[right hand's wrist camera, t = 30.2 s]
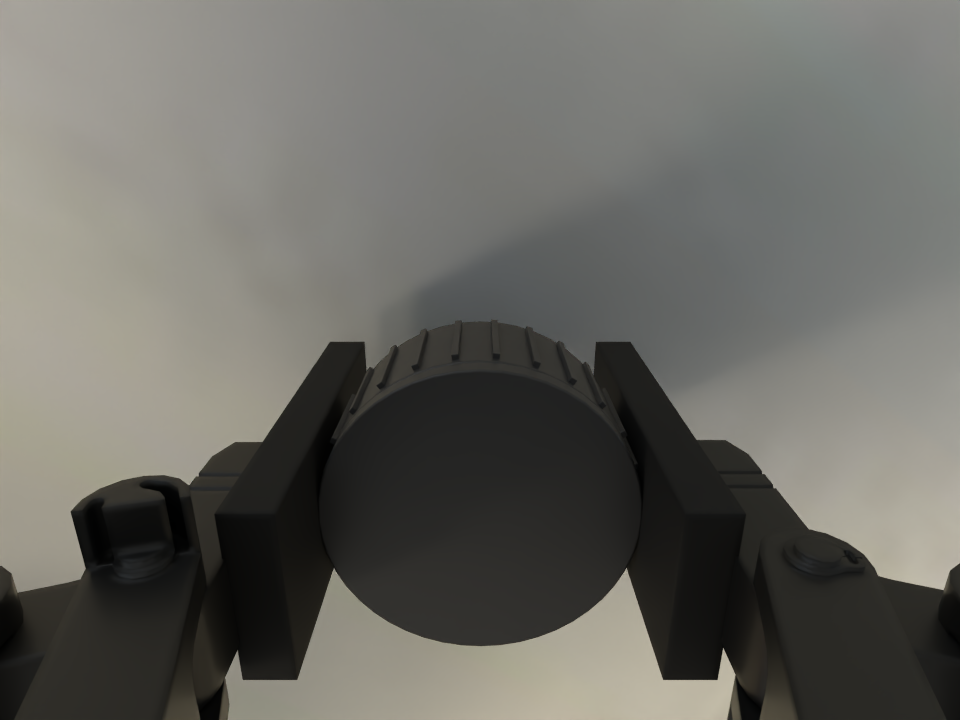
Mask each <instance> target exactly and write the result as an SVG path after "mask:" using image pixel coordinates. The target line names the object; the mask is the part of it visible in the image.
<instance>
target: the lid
mask: <svg viewBox="0 0 960 720" xmlns="http://www.w3.org/2000/svg"><path fill="white" fill-rule="evenodd" d="M626 436H627V433H626V431H625V429H624V427H623V425H622V423H621V420H620V418H619V416H618V414H617V412H616V410H615V408H614V405H613V403H612V401H611V399H610V397H609V395H608V392H607V391H606V389H605V388H603V389H601V388H600V387H599V385H598V384H597V382H596V380H595V378H594V376H593V373H592V371H591V369H590V367H589V365H588V364H587V363H586V362H585V363H583V364H582V363H581V362H580V361H579V360H578V359H577V358H576V357H575V356H573V355H572V354H571V353H570V352H569V351H568V350H566V349H565V346H564V344H563V343H562V342H560V341H558V343H556V342H554V341H552V340H551V339H549V338H547V337H545V336H542V335H540V334H538V333H536V332H534V331H533V329H532V328H531V327H528V326H527V327H526V329H524V328H521V327H518V326H514V325H508V324H503V323H498V321H497V320H491V322H466V323H462V322H461V320H459V321H455V324H452V325H447V326H442V327H439V328H436V329H433V330H430V331H427V329H424V330H422V331H421V333H420V335H418V336H416V337H414V338H412V339H410V340H408V341H406V342H405V343H403V344H402V345H400V346H399V347H397V346H396V345H394V346H393V347H391V349H390V352H389V354H388V355H387V356H386V357H385V358H384V359H382V360H381V361H380V362H379V363H378V365H377V366H376V367H375V368H374V369H372V368H371V367H370V368H369V369H368V370H367V372H366V374H365V376H364V378H363V381H362V383H361V385H360V387H359V390H358V392H357V394H356V395H355V394H352V395H351V398H350V400H349V402H348V404H347V406H346V408H345V410H344V413H343V415H342V417H341V419H340V421H339V423H338V425H337V428H336V430H335V432H334V434H333V436H332V438H331V440H330V443H332V444H334V447H333V449H332V451H331V454H330V456H329V458H328V460H327V463H326V465H325V467H324V470H323V475H322V478H321V482H320V488H319V496H318V513H319V523H320V531H321V536H322V540H323V543H324V546H325V549H326V552H327V554H328V557H329V559H330V561H331V563H332V564H333V566H334V568H335V570H336V572H337V573H338V575H339V576H340V578H341V579H342V581H343V582H344V583H345V585H346V586H347V587H348V588H349V589H350V591H351V592H352V593H353V594H354V595H355V596H356V597H357V598H358V599H359V600H360V601H361V602H362V603H363V604H365V605H366V606H367V607H368V608H369V609H371V610H372V611H373V612H374V613H376V614H377V615H379V616H380V617H382V618H383V619H385V620H386V621H388V622H390V623H392V624H394V625H396V626H398V627H400V628H402V629H404V630H406V631H408V632H411V633H413V634H416V635H419V636H421V637H424V638H428V639H432V640H436V641H440V642H444V643H451V644H457V645H470V646H491V645H503V644H510V643H516V642H521V641H525V640H529V639H532V638H536V637H539V636H542V635H545V634H547V633H550V632H552V631H555V630H557V629H559V628H561V627H563V626H565V625H567V624H569V623H571V622H573V621H574V620H576V619H577V618H579V617H580V616H582V615H583V614H585V613H586V612H588V611H589V610H590V609H591V608H592V607H594V606H595V605H596V604H597V603H598V602H599V601H601V600H602V599H603V598H604V597H605V595H606V594H607V593H608V592H609V591H610V590H611V589H612V588H613V587H614V586H615V584H616V583H617V581H618V580H619V578H620V577H621V576H622V574H623V573H624V571H625V569H626V567H627V565H628V563H629V562H630V560H631V558H632V556H633V553H634V550H635V547H636V544H637V541H638V538H639V534H640V527H641V518H642V504H643V500H642V492H641V485H640V480H639V477H638V473H637V470H636V469H638V463H637V461H636V458H635V456H634V454H633V452H632V450H631V448H630V445H629V443H628V441H627V439H626Z"/></svg>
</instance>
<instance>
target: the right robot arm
mask: <svg viewBox="0 0 960 720" xmlns="http://www.w3.org/2000/svg"><path fill="white" fill-rule="evenodd" d="M365 374H366V358H365V344H364V342H330V343H329V344H328V346H327V347H326V349H325V350H324V352H323V353H322V355H321V356H320V358H319V359H318V361H317V362H316V364H315V365H314V367H313V368H312V370H311V371H310V373H309V374H308V376H307V377H306V379H305V380H304V382H303V383H302V384H301V386H300V387H299V389H298V390H297V392H296V393H295V395H294V396H293V398H292V399H291V401H290V402H289V404H288V405H287V407H286V408H285V410H284V411H283V413H282V414H281V416H280V417H279V419H278V420H277V422H276V423H275V425H274V426H273V427H272V429H271V430H270V432H269V433H268V435H267V436H266V438H265V439H264V441H263V442H235V443H233V444H232V445H230V446H228V447H227V448H225V449H224V450H222V451H220V452H219V453H217V454H216V455H214V456H212V457H211V459H210V460H209V461H208V463H207V464H206V465H205V466H204V468H203V469H202V470H201V471H200V473H199V477H196V478H195V479H194V480H193V481H192V483H191V484H190V485H187V484H186V483H185V482H183V481H182V480H181V479H179V478H174V477H169V476H165V475H161V476H142V477H137V478H132V479H127V480H122V481H119V482H117V483H114V484H111V485H109V486H106V487H103V488H101V489H99V490H97V491H95V492H94V493H92V494H90V495H89V496H87V497H85V498H84V499H82V500H81V501H80V502H79V503H78V504H77V505H76V506H75V508H74V509H73V510H72V511H71V515H72V519H73V522H74V526H75V530H76V534H77V537H78V541H79V545H80V549H81V552H82V556H83V560H84V563H85V567H86V569H85V572H84V574H83V576H82V578H81V579H80V580H77V581H73V582H69V583H64V584H59V585H54V586H50V587H45V588H40V589H35V590H30V591H25V592H20V593H17V590H16V587H15V583H14V580H13V577H12V574H11V573H10V572H9V571H7V570H6V569H5V568H3V567H2V566H0V720H227V719H228V711H229V699H228V692H227V686H226V681H225V676H226V674H227V672H228V670H229V667H230V665H231V663H232V661H233V659H234V656H235V654H236V652H237V650H238V654H239V660H240V666H241V672H242V677H243V680H297V679H298V676H299V673H300V670H301V666H302V663H303V660H304V657H305V654H306V651H307V648H308V645H309V642H310V639H311V636H312V633H313V630H314V627H315V624H316V621H317V617H318V614H319V611H320V608H321V605H322V602H323V599H324V596H325V593H326V590H327V587H328V584H329V581H330V578H331V575H332V571H333V568H334V566H333V564H332V563H331V561H330V559H329V557H328V554H327V552H326V549H325V546H324V543H323V540H322V536H321V531H320V523H319V513H318V496H319V488H320V482H321V478H322V475H323V470H324V467H325V465H326V463H327V460H328V458H329V456H330V454H331V451H332V449H333V447H334V444H332V443H330V440H331V438H332V436H333V434H334V432H335V430H336V428H337V425H338V423H339V421H340V419H341V417H342V415H343V413H344V410H345V408H346V406H347V404H348V402H349V400H350V398H351V395H352V394H355V395H356V394H357V392H358V390H359V387H360V385H361V383H362V381H363V378H364V376H365ZM594 378H595V380H596V382H597V384H598V385H599V387H600V388H601V389H603V388H605V389H606V391H607V392H608V395H609V397H610V399H611V401H612V403H613V405H614V408H615V410H616V412H617V414H618V416H619V418H620V420H621V423H622V425H623V427H624V429H625V431H626V433H627V436H626V439H627V441H628V443H629V445H630V448H631V450H632V452H633V454H634V456H635V458H636V461H637V463H638V469H636V470H637V473H638V477H639V480H640V485H641V492H642V500H643V504H642V518H641V527H640V534H639V538H638V541H637V544H636V547H635V550H634V553H633V556H632V558H631V560H630V562H629V563H628V565H627V570H628V573H629V576H630V579H631V583H632V586H633V589H634V592H635V595H636V598H637V601H638V604H639V607H640V610H641V613H642V616H643V619H644V622H645V625H646V628H647V632H648V635H649V638H650V641H651V644H652V647H653V650H654V653H655V656H656V659H657V662H658V665H659V668H660V671H661V674H662V677H663V680H718V674H719V668H720V662H721V657H722V651H723V648H724V650H725V652H726V654H727V657H728V659H729V661H730V663H731V665H732V668H733V670H734V672H735V674H736V675H735V681H734V686H733V691H732V697H731V702H730V708H729V713H728V718H727V720H960V564H958V565H957V566H956V567H954V568H953V569H952V570H950V573H949V576H948V579H947V582H946V585H945V588H944V590H940V589H935V588H930V587H925V586H920V585H915V584H910V583H905V582H900V581H895V580H891V579H887V578H883V577H880V576H878V575H877V572H876V570H875V568H874V567H873V566H872V564H871V563H870V562H869V560H868V559H867V558H866V557H865V555H864V554H862V553H861V552H860V551H858V550H857V549H855V548H854V547H852V546H851V545H850V544H848V543H847V542H844V541H842V540H840V539H837V538H835V537H833V536H831V535H828V534H826V533H822V532H817V531H813V530H809V529H808V528H807V527H806V525H805V524H804V523H803V522H802V520H801V519H800V518H799V517H798V515H797V514H796V513H795V512H794V511H793V509H792V508H791V507H790V506H789V504H788V503H787V502H786V501H785V499H784V498H783V497H782V496H781V494H780V493H779V492H778V491H777V489H776V488H773V484H772V483H771V482H770V481H769V479H768V478H767V477H766V476H765V474H762V471H761V469H760V468H759V467H758V466H757V464H756V463H755V462H754V461H753V459H752V458H751V457H750V456H749V454H747V453H745V452H744V451H742V450H741V449H739V448H737V447H736V446H734V445H733V444H731V443H729V442H728V441H726V440H696V439H695V437H694V436H693V434H692V433H691V431H690V430H689V428H688V427H687V425H686V424H685V422H684V421H683V419H682V418H681V416H680V415H679V413H678V412H677V411H676V409H675V408H674V406H673V405H672V403H671V402H670V400H669V399H668V397H667V396H666V394H665V393H664V391H663V390H662V388H661V387H660V385H659V384H658V382H657V381H656V379H655V378H654V376H653V375H652V373H651V372H650V370H649V369H648V368H647V366H646V365H645V363H644V362H643V360H642V359H641V357H640V356H639V354H638V353H637V351H636V350H635V348H634V347H633V345H632V344H631V342H596V350H595V364H594Z"/></svg>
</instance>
